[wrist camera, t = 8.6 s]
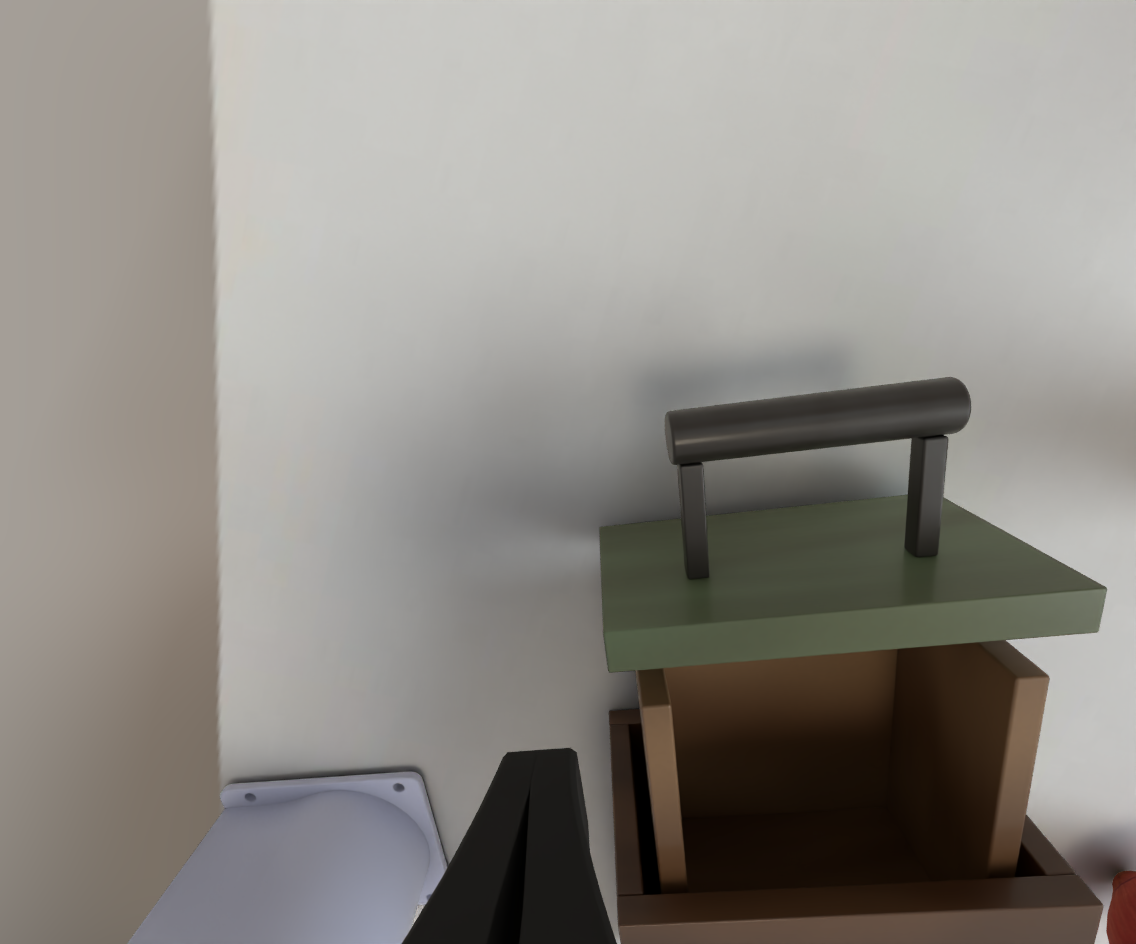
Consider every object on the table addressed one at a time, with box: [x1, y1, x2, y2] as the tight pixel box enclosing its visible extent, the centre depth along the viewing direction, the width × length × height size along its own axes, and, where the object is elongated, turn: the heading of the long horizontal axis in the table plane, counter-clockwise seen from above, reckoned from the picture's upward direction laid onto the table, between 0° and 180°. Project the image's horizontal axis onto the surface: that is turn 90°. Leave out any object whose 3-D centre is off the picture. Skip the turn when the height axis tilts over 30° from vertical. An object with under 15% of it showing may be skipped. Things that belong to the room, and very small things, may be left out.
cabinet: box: [609, 709, 1103, 944], centre depth 20 cm, size 15×13×8 cm
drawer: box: [599, 377, 1107, 894], centre depth 17 cm, size 18×11×6 cm, turn 8°
